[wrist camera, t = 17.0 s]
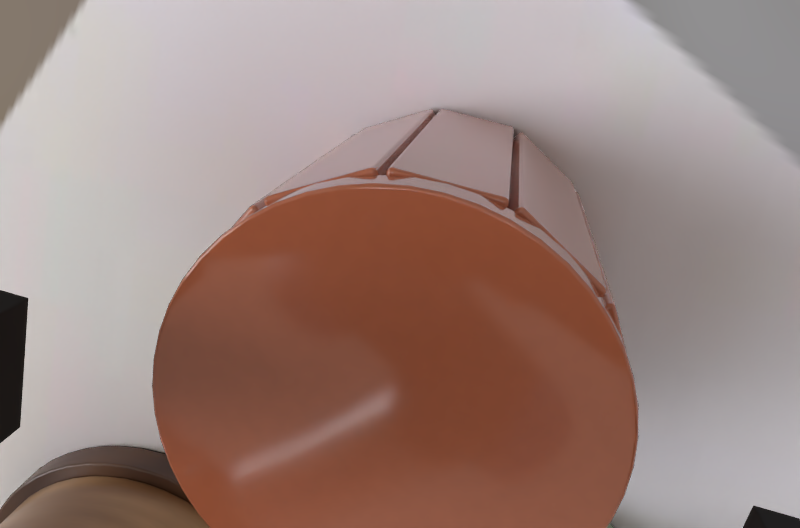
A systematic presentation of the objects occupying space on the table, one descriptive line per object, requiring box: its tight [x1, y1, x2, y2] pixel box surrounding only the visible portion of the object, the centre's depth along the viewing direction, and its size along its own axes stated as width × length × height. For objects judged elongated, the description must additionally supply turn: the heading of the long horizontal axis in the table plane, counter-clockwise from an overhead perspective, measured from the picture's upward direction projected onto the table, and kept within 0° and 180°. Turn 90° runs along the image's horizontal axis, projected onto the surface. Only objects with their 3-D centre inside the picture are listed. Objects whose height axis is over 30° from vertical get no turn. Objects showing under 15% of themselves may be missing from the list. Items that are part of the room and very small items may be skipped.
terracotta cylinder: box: [152, 109, 639, 528], centre depth 18 cm, size 9×9×10 cm
